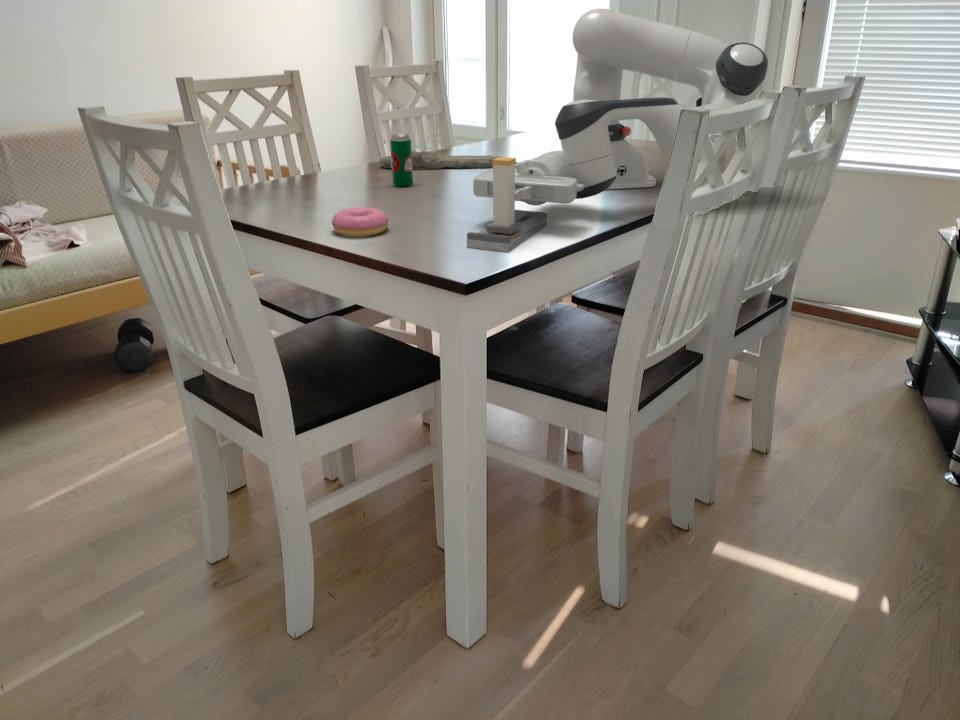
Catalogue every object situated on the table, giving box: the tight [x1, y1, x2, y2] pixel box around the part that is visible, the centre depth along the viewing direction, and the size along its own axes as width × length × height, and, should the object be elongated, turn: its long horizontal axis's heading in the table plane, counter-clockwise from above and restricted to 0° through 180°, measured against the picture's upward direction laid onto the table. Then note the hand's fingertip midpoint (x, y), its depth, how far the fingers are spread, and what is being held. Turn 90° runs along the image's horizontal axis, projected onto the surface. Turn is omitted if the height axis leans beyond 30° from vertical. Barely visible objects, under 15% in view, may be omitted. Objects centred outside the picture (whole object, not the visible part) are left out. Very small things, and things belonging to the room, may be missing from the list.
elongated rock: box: [378, 150, 500, 171], centre depth 203 cm, size 35×5×10 cm
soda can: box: [389, 133, 414, 188], centre depth 179 cm, size 5×5×12 cm
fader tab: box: [485, 156, 522, 234], centre depth 133 cm, size 5×5×13 cm
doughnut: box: [331, 206, 390, 238], centre depth 142 cm, size 11×11×4 cm
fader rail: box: [466, 209, 548, 253], centre depth 138 cm, size 20×8×2 cm, turn 155°
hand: (509, 196), depth 134 cm, fingers closed, pressing on fader tab
